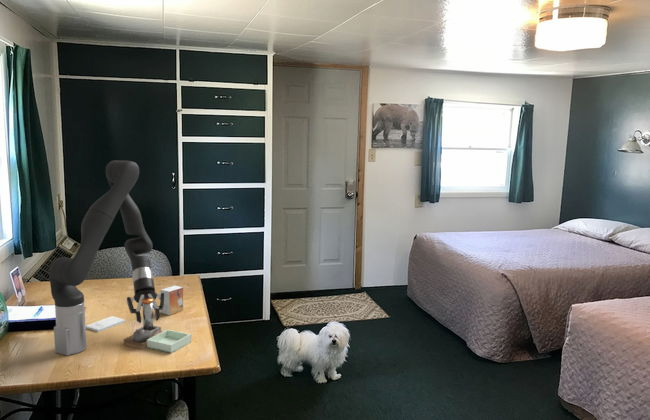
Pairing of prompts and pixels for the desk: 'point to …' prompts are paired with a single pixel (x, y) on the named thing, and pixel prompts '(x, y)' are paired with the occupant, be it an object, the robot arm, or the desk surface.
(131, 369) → the desk surface
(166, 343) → the tray
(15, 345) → the desk surface
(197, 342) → the desk surface
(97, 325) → the external hard drive
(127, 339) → the tensioner bracket
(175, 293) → the small box
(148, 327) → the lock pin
